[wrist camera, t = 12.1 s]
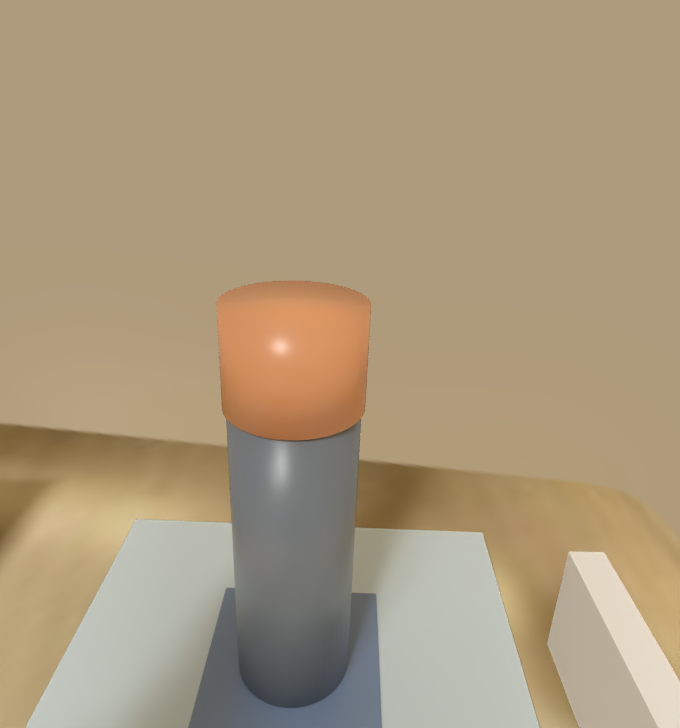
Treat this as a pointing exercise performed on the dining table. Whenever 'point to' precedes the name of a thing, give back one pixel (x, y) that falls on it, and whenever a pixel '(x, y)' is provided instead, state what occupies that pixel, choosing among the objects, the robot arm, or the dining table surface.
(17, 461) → the dining table surface
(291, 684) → the marker
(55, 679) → the sketch pad
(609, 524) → the dining table surface
